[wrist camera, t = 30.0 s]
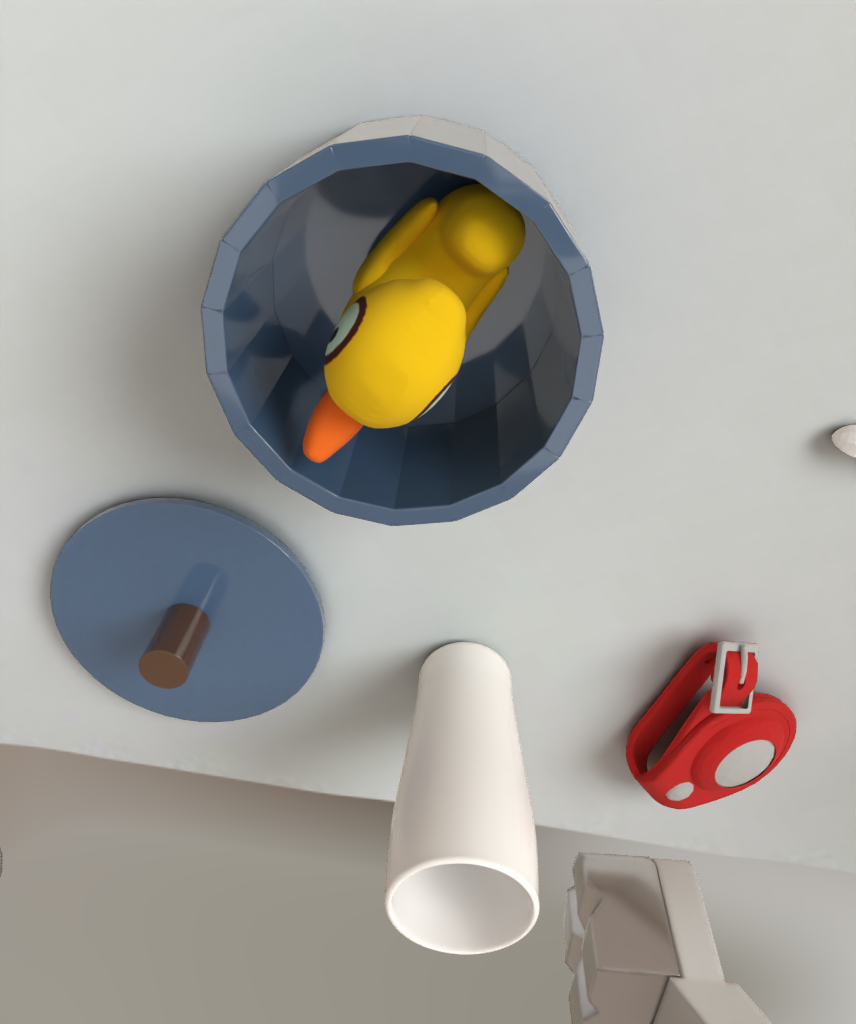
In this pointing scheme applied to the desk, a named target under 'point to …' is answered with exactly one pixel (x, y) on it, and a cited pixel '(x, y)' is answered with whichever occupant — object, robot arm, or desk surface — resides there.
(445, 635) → the desk surface
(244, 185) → the desk surface
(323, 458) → the duckling
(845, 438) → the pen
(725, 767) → the tracker holder
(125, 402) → the desk surface
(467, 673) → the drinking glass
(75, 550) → the lid
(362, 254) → the pot
